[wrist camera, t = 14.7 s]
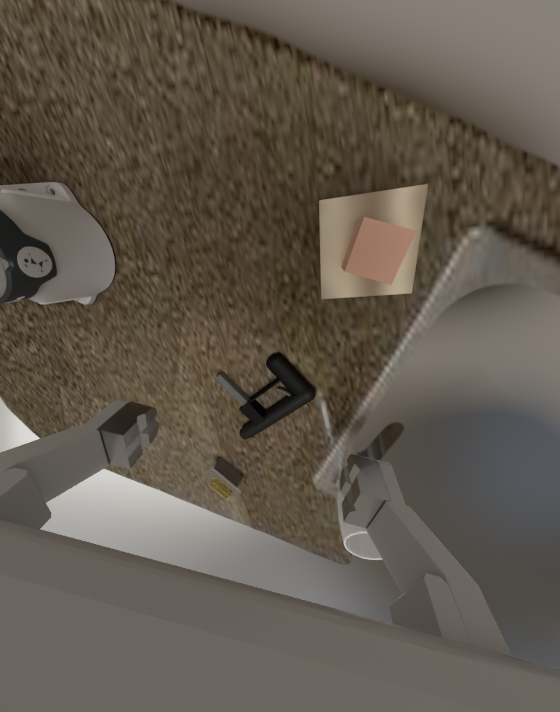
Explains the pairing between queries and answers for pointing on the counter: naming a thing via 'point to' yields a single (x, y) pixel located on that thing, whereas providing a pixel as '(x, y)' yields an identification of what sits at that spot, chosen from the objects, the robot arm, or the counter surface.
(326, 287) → the birch box
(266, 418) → the black clamp
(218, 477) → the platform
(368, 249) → the terracotta block
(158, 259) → the counter surface
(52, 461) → the robot arm
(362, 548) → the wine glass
